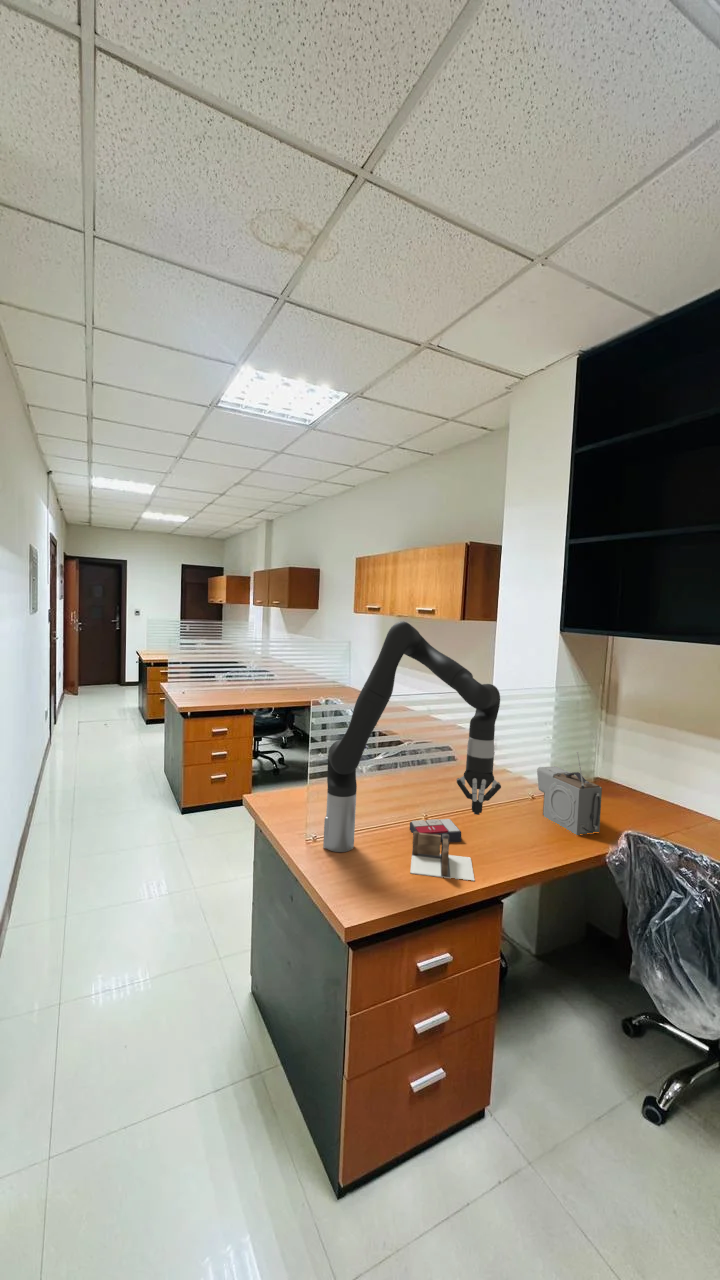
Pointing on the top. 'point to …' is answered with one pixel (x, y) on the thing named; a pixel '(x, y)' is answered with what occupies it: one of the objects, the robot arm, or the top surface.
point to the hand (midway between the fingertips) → (476, 813)
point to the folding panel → (445, 857)
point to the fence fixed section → (428, 843)
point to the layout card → (432, 865)
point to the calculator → (437, 828)
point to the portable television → (570, 799)
